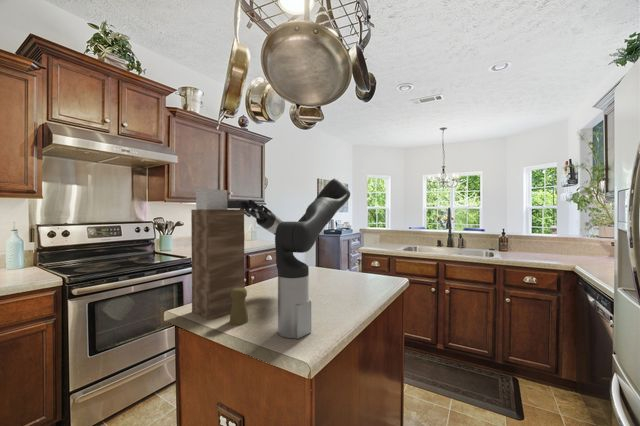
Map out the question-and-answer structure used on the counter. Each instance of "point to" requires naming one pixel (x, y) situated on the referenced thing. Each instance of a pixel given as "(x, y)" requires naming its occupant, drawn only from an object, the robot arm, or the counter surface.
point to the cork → (238, 307)
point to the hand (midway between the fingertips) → (242, 201)
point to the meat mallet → (217, 200)
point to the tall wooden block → (216, 259)
